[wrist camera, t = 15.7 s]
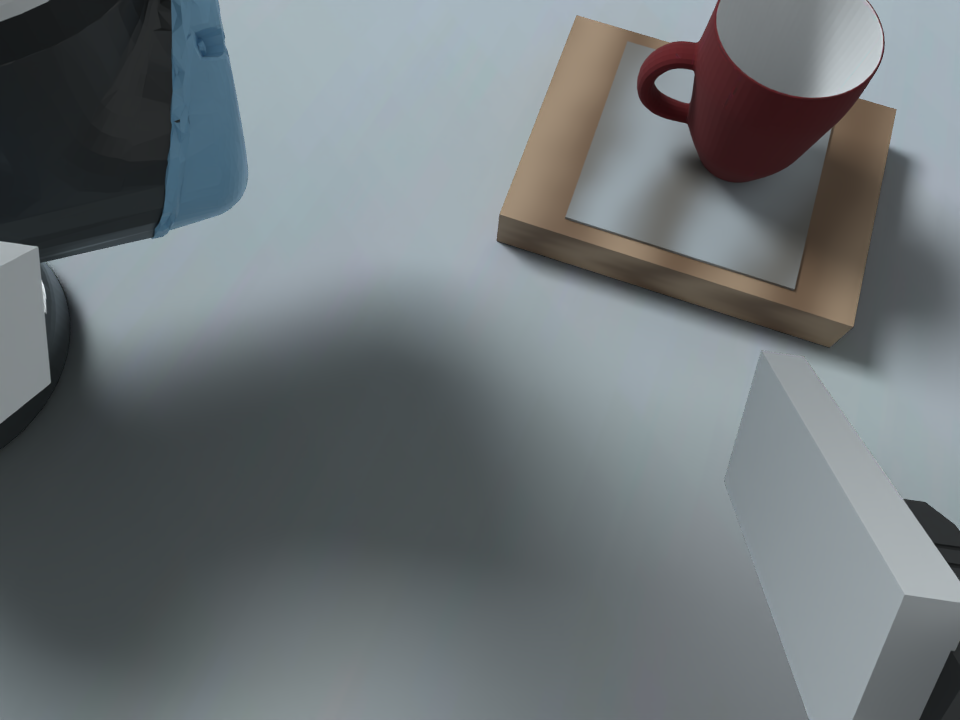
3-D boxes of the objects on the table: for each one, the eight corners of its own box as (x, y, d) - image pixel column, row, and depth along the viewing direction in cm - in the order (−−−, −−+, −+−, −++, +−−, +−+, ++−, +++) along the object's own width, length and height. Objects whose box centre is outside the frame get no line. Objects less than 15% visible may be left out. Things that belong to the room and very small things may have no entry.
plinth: (496, 240, 50) (499, 212, 47) (569, 49, 55) (576, 12, 52) (829, 347, 48) (854, 325, 45) (872, 139, 53) (898, 107, 50)
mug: (619, 206, 47) (661, 89, 38) (619, 88, 50) (659, -48, 41) (807, 220, 47) (895, 106, 38) (796, 101, 50) (876, -32, 41)
